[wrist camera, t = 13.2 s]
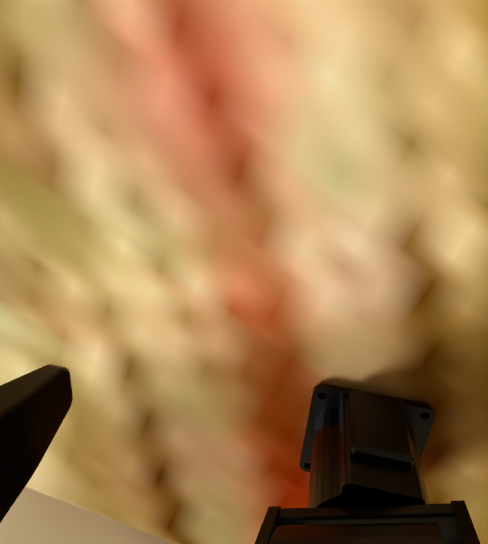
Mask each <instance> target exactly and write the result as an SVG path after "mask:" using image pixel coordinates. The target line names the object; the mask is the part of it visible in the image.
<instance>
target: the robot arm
mask: <svg viewBox="0 0 488 544" xmlns="http://www.w3.org/2000/svg"><path fill="white" fill-rule="evenodd" d="M320 392H323V393H325V394H324V395H321V394H319V393H320ZM71 403H72V387H71V379H70V372H69V370H68V369H67V368H66V367H62V366H57V365H53V364H49V365H46V366H44V367H41V368H39V369H37V370H35V371H32V372H30V373H28V374H25V375H23V376H21V377H19V378H16V379H14V380H12V381H10V382H7V383H5V384H3V385H1V386H0V522H1V521H2V520H3V518H4V516H5V515H6V514H7V512H8V511H9V509H10V507H11V506H12V505H13V503H14V502H15V500H16V499H17V497H18V496H19V495H20V493H21V492H22V490H23V489H24V487H25V486H26V484H27V483H28V481H29V480H30V478H31V477H32V475H33V474H34V472H35V470H36V468H37V467H38V465H39V463H40V462H41V460H42V458H43V456H44V454H45V452H46V451H47V449H48V447H49V445H50V443H51V441H52V440H53V438H54V436H55V434H56V432H57V431H58V429H59V427H60V425H61V423H62V421H63V420H64V418H65V416H66V414H67V412H68V410H69V408H70V406H71ZM423 412H427V414H421V413H423ZM434 418H435V414H434V410H433V408H432V406H430V405H429V404H426V403H420V402H415V401H410V400H405V399H399V398H394V397H389V396H383V395H378V394H373V393H367V392H362V391H357V390H352V389H346V388H341V387H336V386H330V385H325V384H319V385H316V386H315V387H314V389H313V394H312V399H311V405H310V410H309V415H308V421H307V426H306V431H305V437H304V442H303V447H302V453H301V458H300V467H301V469H303V470H304V471H307V472H310V485H309V501H308V508H285V509H281V507H280V506H278V507H269V508H268V511H267V513H266V516H265V519H264V521H263V523H262V525H261V528H260V531H259V534H258V536H257V539H256V542H255V544H480V542H479V539H478V537H477V534H476V531H475V528H474V526H473V523H472V520H471V518H470V515H469V512H468V510H467V507H466V504H465V502H464V501H451V503H448V504H430V503H429V498H428V494H427V490H426V485H425V481H424V476H423V472H422V467H421V463H420V457H421V455H422V452H423V449H424V446H425V443H426V441H427V438H428V435H429V432H430V429H431V427H432V424H433V421H434ZM309 463H310V464H309Z"/></svg>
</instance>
